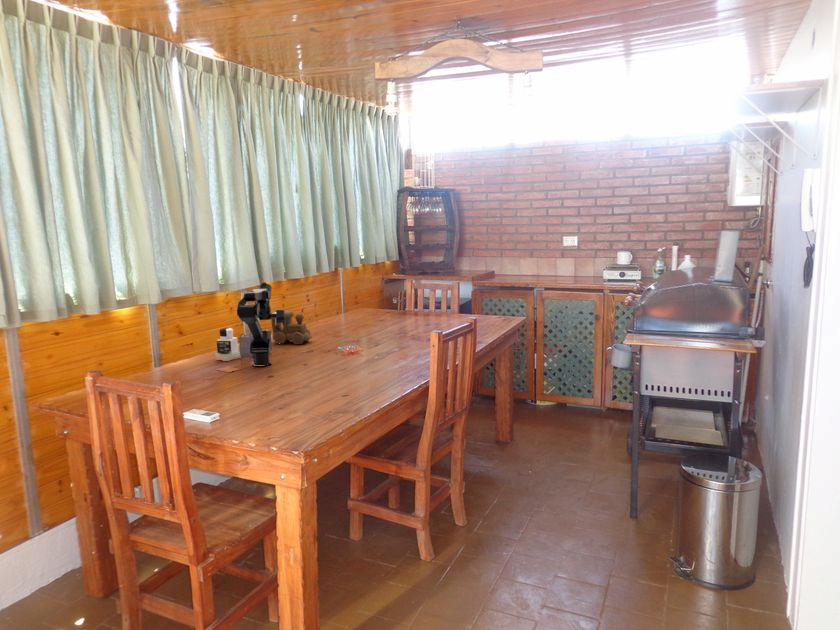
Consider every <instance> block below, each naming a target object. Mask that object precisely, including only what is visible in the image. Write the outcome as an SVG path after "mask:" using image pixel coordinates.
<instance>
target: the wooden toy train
mask: <svg viewBox="0 0 840 630" xmlns="http://www.w3.org/2000/svg"><path fill="white" fill-rule="evenodd" d="M284 311H285V321H284V322H282V323H279V324H278V325H277V326H275V319H276V317H272V318H270V320H271V327H272V340H273V341H274V343H275V344H277V343H278V344H277V345H282V344H281V343H283V344H285V343H286V340H290V341H292V343H293V344H294V345H296V344H301V345H302V344H303V343H304V342H308V341H310V339H312V338H313V335H312V334H311V331H310V330H308V328H307V323H303V321H304V318H305V317H304V315H303V313H301V312H300V313H297V314H296V315H294V311H291V310H284ZM274 312H275V311H273V312H271V313H274ZM294 316H295V317H294ZM293 317H294V318H295V320H296V322H297V323H296V322H293V319H292V318H293ZM279 343H280V344H279Z"/></svg>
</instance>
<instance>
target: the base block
mask: <svg viewBox="0 0 840 630" xmlns="http://www.w3.org/2000/svg"><path fill="white" fill-rule="evenodd" d="M214 355H215V358H216V357H218V358H223V359H230V358H234V357H238V356H240V357H241V351H238V352H236V353H234V354H232V355H218V352H216V353H214Z"/></svg>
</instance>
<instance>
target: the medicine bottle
mask: <svg viewBox="0 0 840 630" xmlns="http://www.w3.org/2000/svg"><path fill="white" fill-rule="evenodd" d="M216 348H217V349H216V350H217V353H218V355H232V354H234V353H236V352H239V345H238V337H236V336H234V329H233V328H232V327H224V328H220V329H219V339H216Z"/></svg>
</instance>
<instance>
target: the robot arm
mask: <svg viewBox="0 0 840 630" xmlns="http://www.w3.org/2000/svg"><path fill="white" fill-rule="evenodd" d="M272 289H273V287H272V285H271V284H269V283H267V282H266V281H265V282H261V284H260V285H259V287H258V288H253V289H252V290H251V291H248V292H245V293H244V294H243V298H241V299H240V300H239V301H238V303H237V308H236V315H237V317H238V318H239V320H240V321H241V322H244V324H245V325H247V328H248V330H249V331H250V333H251V340H250V344H249V353H250V354H251V355H252V354H253V364H255V365H267V364H269V363H270V357H269V354H270V353H271V351H272V339H271V337H270V334H269V332H268V331H267V330H263V329H262V326H261V324H260V321H268V320H269V321H270V320H271V319H270V318H272V317H276V319H275V326H277V325H278V324H279V323H281V324H282V322H284V321H285V311H286V310H285V309H283V308H282V309H276V310H275V311H273V312H274V313H272V312H271V311H272V309H271V301H270V300H271V298H272ZM249 302H254V304H247V303H249Z"/></svg>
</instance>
